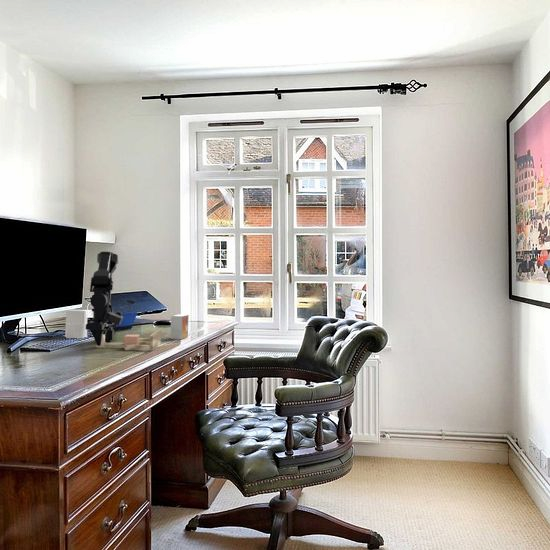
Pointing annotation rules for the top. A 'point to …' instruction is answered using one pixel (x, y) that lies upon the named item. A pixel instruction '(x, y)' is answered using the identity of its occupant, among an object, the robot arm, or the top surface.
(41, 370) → the top surface
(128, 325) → the blue bin
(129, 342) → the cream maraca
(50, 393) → the top surface
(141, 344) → the lane rack
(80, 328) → the white rectangular block
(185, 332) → the small box
